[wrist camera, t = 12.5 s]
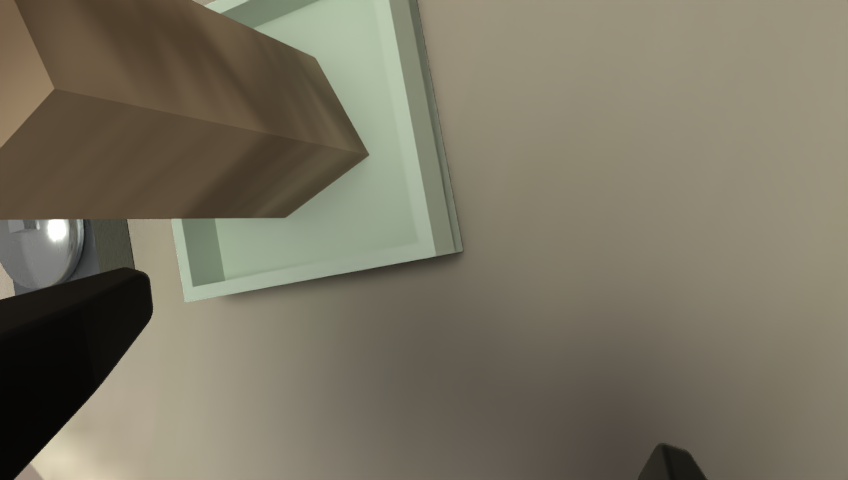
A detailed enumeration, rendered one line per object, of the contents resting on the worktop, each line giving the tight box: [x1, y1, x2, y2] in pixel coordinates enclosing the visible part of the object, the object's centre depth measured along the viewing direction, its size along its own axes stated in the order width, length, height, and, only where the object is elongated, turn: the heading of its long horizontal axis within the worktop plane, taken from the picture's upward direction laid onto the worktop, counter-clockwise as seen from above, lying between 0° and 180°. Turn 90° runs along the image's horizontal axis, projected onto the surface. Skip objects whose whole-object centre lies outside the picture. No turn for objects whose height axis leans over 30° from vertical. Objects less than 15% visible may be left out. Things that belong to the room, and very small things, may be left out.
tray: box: [171, 0, 463, 302], centre depth 24 cm, size 12×12×3 cm
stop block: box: [0, 0, 369, 220], centre depth 18 cm, size 5×5×13 cm
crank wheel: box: [0, 219, 84, 289], centre depth 27 cm, size 6×6×4 cm
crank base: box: [13, 219, 134, 296], centre depth 30 cm, size 7×7×2 cm
